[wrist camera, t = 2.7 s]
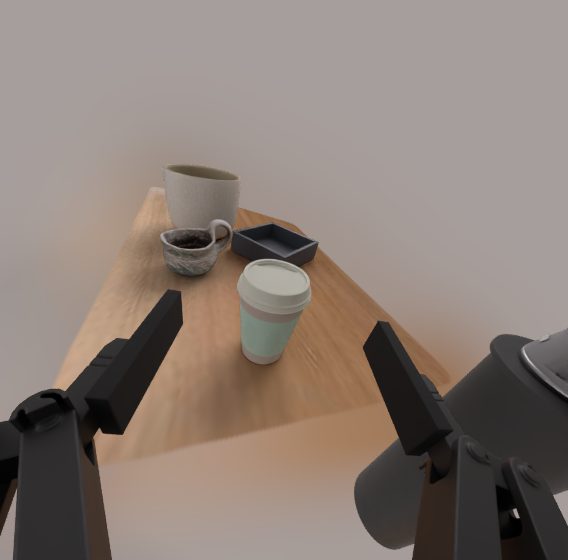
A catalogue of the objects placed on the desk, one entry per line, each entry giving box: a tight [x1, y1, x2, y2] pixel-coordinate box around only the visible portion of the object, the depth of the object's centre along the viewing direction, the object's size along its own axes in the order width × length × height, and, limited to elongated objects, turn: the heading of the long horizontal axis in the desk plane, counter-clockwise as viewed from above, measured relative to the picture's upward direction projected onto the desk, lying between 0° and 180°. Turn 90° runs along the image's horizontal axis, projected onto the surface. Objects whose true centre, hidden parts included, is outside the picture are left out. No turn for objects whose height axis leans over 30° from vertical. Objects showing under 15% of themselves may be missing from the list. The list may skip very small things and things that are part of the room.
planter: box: [163, 163, 241, 239], centre depth 54 cm, size 17×17×15 cm
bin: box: [231, 222, 318, 267], centre depth 54 cm, size 16×16×5 cm
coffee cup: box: [237, 259, 311, 364], centre depth 27 cm, size 9×8×12 cm
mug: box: [160, 219, 233, 276], centre depth 41 cm, size 10×12×10 cm
